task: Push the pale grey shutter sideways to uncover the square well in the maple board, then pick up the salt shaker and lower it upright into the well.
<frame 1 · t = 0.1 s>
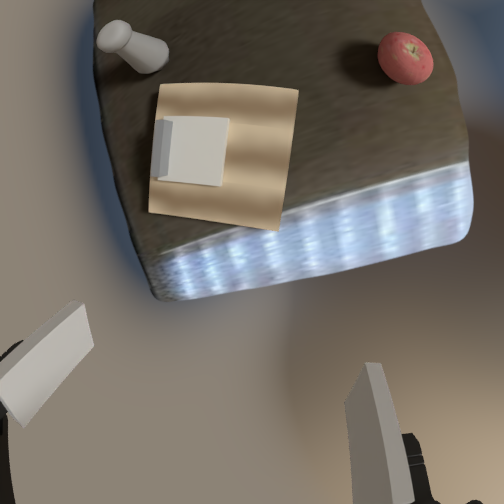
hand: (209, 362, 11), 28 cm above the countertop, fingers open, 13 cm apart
salt shaker: (157, 60, 31), on the countertop
shutter: (188, 149, 31), point 5 cm above the countertop, slide at 0.0 cm
apple: (394, 67, 27), on the countertop
socket board: (222, 151, 35), on the countertop
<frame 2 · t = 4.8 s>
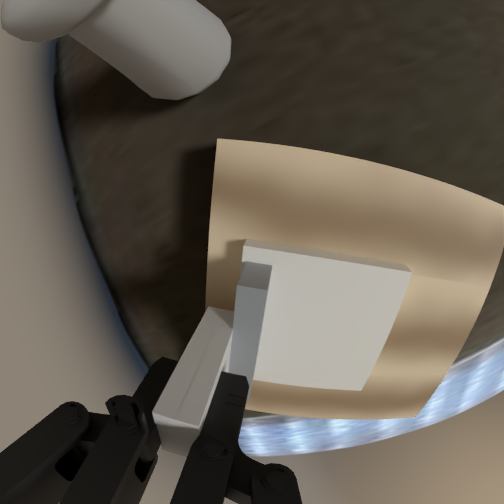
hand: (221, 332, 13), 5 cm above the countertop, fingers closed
salt shaker: (194, 65, 14), on the countertop
shutter: (315, 342, 13), point 5 cm above the countertop, slide at 0.2 cm, touching gripper
socket board: (351, 302, 17), on the countertop
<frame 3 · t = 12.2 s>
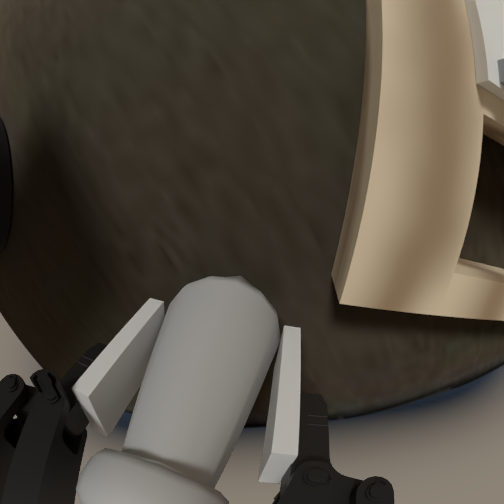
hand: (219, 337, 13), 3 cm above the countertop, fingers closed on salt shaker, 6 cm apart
salt shaker: (232, 305, 16), on the countertop, touching gripper
socket board: (495, 153, 10), on the countertop
when the fingers open (5 cm above the countertop, at t = 17.4 s): salt shaker drops 2 cm, resting in socket board.
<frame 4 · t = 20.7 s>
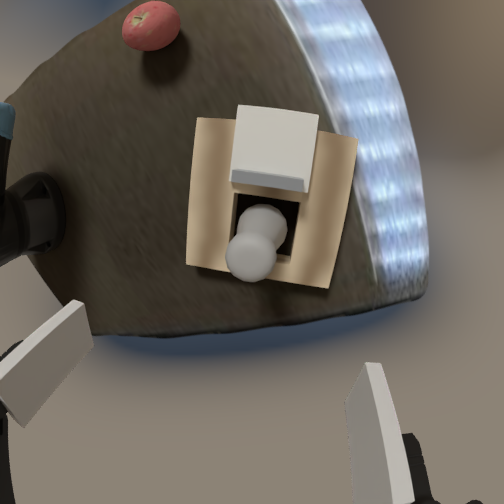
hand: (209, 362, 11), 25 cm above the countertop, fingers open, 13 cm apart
salt shaker: (264, 223, 34), resting in socket board
shutter: (272, 146, 26), point 5 cm above the countertop, slide at 9.3 cm
apple: (164, 36, 27), on the countertop
socket board: (268, 199, 33), on the countertop
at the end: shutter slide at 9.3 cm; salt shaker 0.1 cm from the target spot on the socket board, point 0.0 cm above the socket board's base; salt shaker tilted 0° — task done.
